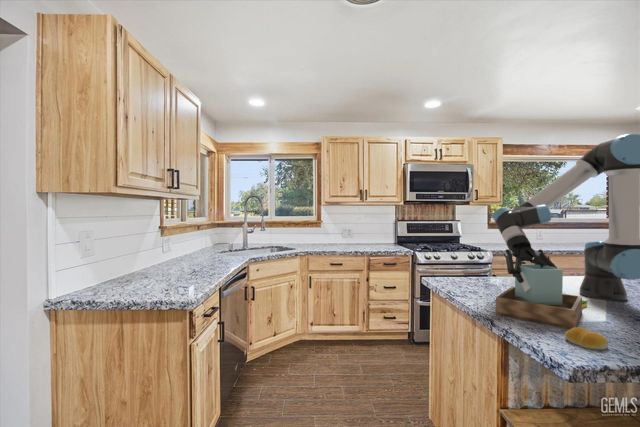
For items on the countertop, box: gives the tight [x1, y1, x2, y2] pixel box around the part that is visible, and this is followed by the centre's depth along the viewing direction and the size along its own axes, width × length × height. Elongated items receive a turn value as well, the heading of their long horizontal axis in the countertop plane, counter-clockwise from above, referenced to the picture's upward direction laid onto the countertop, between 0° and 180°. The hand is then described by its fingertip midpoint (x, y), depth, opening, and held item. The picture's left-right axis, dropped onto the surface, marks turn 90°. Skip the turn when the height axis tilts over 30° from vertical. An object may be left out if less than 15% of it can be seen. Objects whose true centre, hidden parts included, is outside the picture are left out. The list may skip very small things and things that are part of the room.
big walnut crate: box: [495, 286, 583, 330], centre depth 114 cm, size 22×22×6 cm
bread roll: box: [564, 326, 609, 351], centre depth 89 cm, size 8×9×4 cm
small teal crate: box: [514, 264, 564, 305], centre depth 114 cm, size 10×10×12 cm
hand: (543, 290), depth 111 cm, fingers closed on small teal crate, 10 cm apart
